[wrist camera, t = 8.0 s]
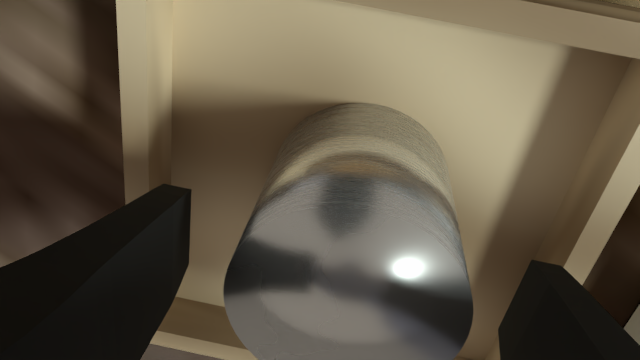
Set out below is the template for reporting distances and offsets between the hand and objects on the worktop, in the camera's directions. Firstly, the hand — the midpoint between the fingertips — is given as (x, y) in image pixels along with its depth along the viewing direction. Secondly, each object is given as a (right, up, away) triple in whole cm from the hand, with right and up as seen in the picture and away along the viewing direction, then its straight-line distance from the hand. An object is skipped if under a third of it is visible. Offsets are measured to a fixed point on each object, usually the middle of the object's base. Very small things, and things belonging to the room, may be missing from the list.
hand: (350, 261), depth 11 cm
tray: (0, +2, +3) cm, 3 cm away
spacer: (0, +2, +2) cm, 3 cm away
